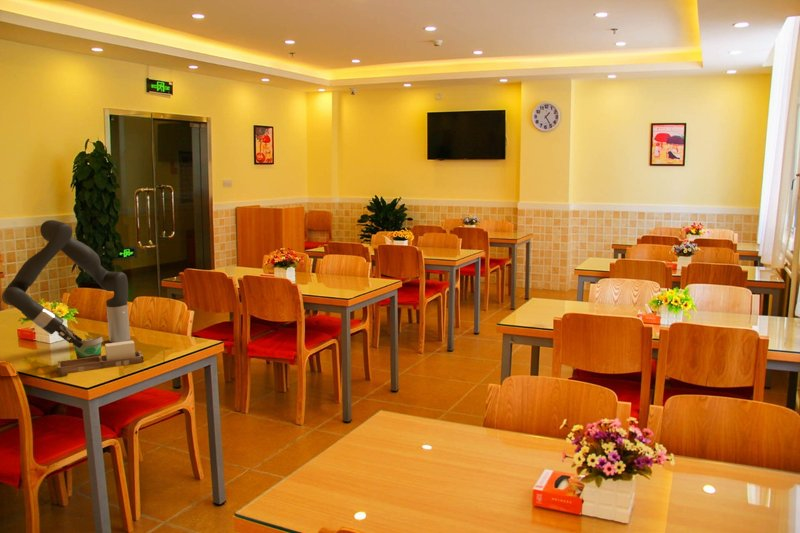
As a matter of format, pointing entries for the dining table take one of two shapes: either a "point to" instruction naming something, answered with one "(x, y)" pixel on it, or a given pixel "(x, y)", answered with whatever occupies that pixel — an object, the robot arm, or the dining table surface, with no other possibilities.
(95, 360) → the rack
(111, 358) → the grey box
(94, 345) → the food container
